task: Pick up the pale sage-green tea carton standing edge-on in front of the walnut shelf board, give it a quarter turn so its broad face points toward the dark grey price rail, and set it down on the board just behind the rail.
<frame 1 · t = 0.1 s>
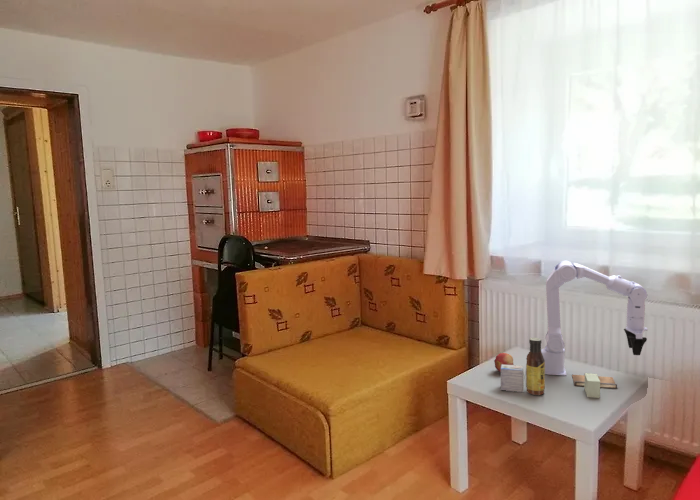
hand: (634, 351, 189), 10 cm above the table, tool pointing down, fingers open, 7 cm apart
fruit: (504, 373, 200), on the table
medicine box: (512, 389, 185), on the table
tea carton: (591, 393, 179), on the table
shelf board: (593, 382, 187), on the table
sauce bottle: (535, 392, 182), on the table
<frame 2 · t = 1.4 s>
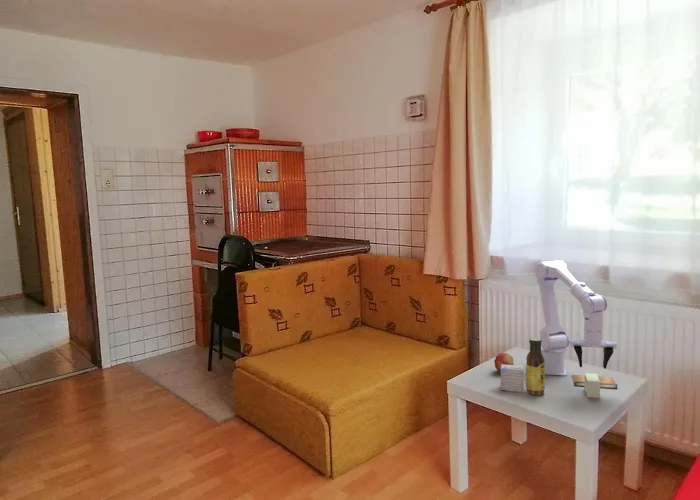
hand: (592, 366, 177), 10 cm above the table, tool pointing down, fingers open, 7 cm apart
nothing on the table moved.
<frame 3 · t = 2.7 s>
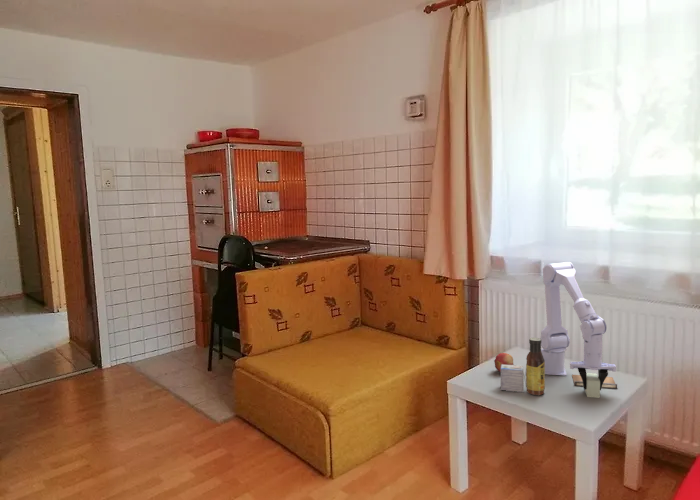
hand: (592, 388, 178), 2 cm above the table, tool pointing down, fingers closed on tea carton, 4 cm apart
tea carton: (591, 393, 179), on the table, touching gripper
everything else where it was.
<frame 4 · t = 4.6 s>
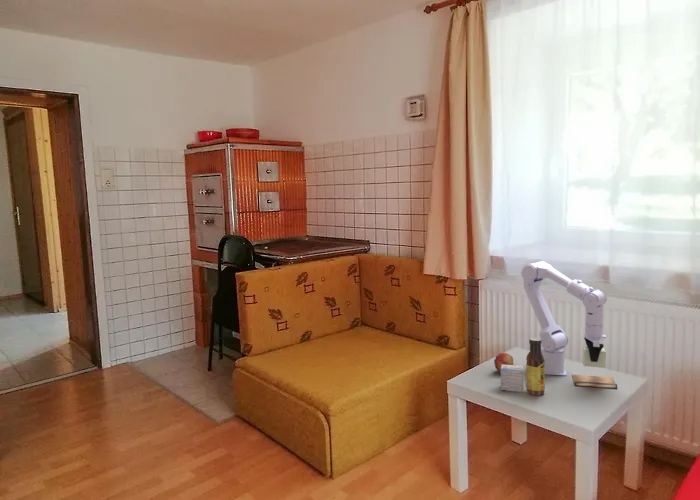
hand: (593, 359, 185), 9 cm above the table, tool pointing down, fingers closed on tea carton, 4 cm apart
tea carton: (593, 364, 185), point 7 cm above the table, touching gripper
everything else where it was.
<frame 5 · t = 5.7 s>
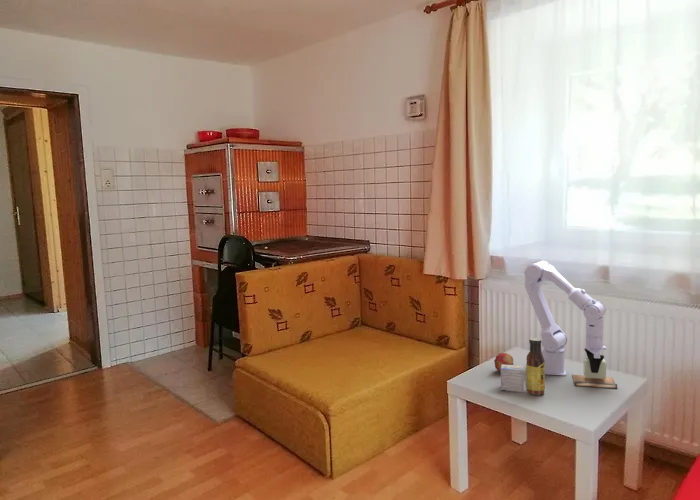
hand: (593, 370, 188), 4 cm above the table, tool pointing down, fingers closed on tea carton, 4 cm apart
tea carton: (594, 375, 188), point 2 cm above the table, touching gripper
everything else where it was.
when the fingers open (3 cm above the table, at t = 6.4 s): tea carton stays where it is, resting on shelf board.
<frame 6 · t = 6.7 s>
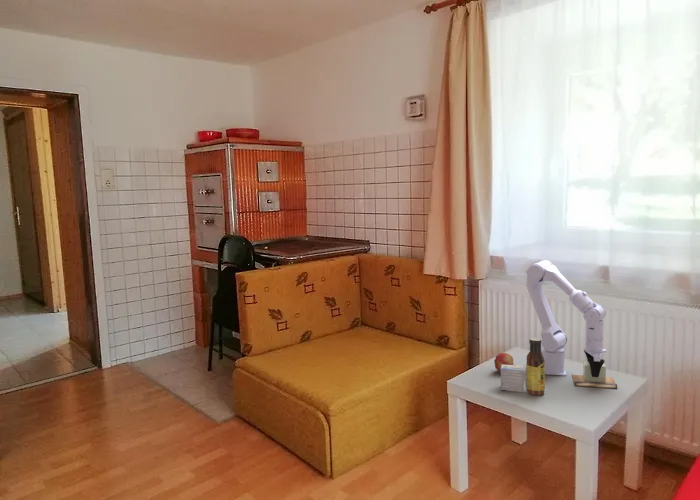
hand: (593, 372, 188), 3 cm above the table, tool pointing down, fingers open, 7 cm apart
tea carton: (594, 379, 188), point 1 cm above the table, touching shelf board
everything else where it was.
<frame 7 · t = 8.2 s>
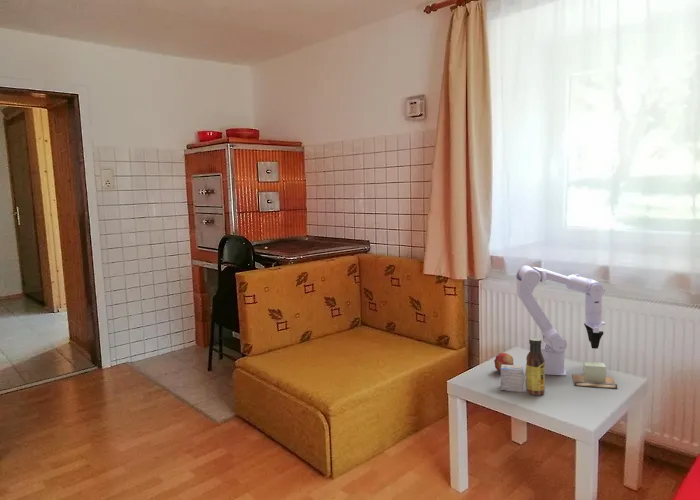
hand: (593, 344, 197), 10 cm above the table, tool pointing down, fingers open, 7 cm apart
nothing on the table moved.
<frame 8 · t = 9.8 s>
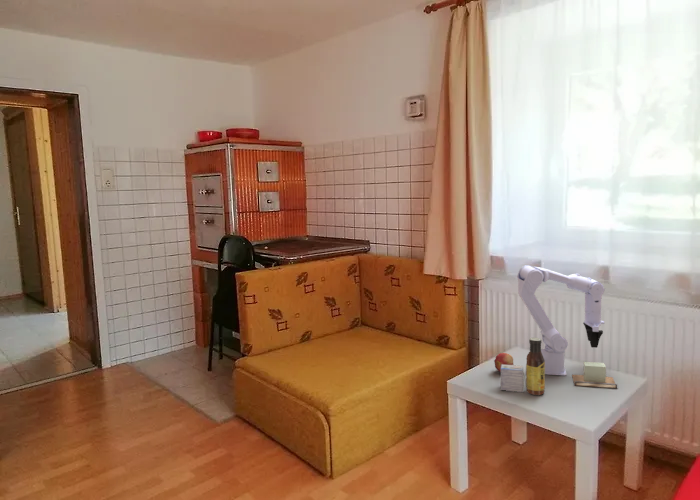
hand: (592, 343, 198), 10 cm above the table, tool pointing down, fingers open, 7 cm apart
nothing on the table moved.
at the end: tea carton inside the target area (0.4 cm from its centre), point 0.6 cm above the table; tea carton tilted 0°; the gripper is holding nothing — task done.
